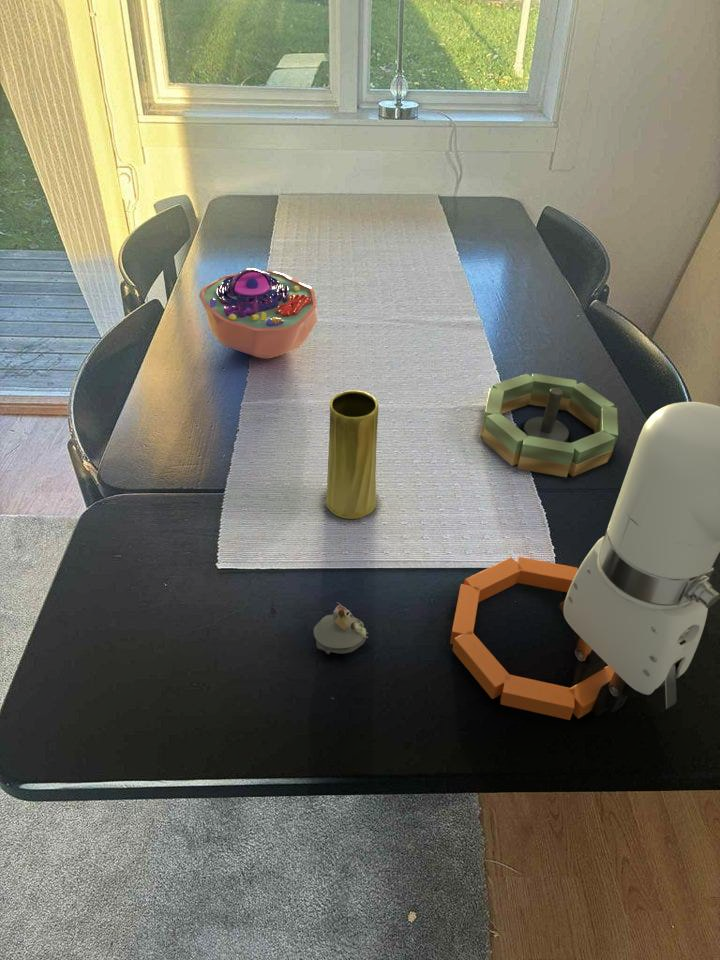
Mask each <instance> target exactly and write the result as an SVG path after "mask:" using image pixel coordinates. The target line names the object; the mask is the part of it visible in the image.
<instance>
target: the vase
mask: <svg viewBox="0 0 720 960" xmlns="http://www.w3.org/2000/svg"><path fill="white" fill-rule="evenodd" d="M378 421H379V402H378V400H377V399H376V398H375V397H374V396H373V395H372V394H370V393H368V392H366V391H363V390H362V391H360V390H345V391H342V392H340V393H338V394H335V395H334V396H333V397H332V398H331V399H330V401H329V435H328V436H329V438H328V454H327V455H328V457H327V478H326V479H327V480H326V495H325V505H326V507H327V509H328V510H329V511H330V512H331V513H332V514H333V515H334V516H337V517H338V518H341V519H347V520H356V519H361V518H364V517H366V516H368V515H370V514H371V513H372V512H374V510H375V508H377V507H376V506H377V496H376V494H377V492H376V491H377V480H376V477H377V475H376V474H377V473H376V471H377V443H378Z"/></svg>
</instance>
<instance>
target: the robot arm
mask: <svg viewBox="0 0 720 960" xmlns="http://www.w3.org/2000/svg"><path fill="white" fill-rule="evenodd" d="M617 496H618V497H617V499H616V503H615V505H614V508H613V511H612V514H611V515H610V516H611V517H610V519H609V523H608V525H607V527H606V531H605V533H604V536H602V537H601V538H599V539H598V540H597V541H596V542H595V544H594V545H593V546H592V548H591V549H590V550H589V552H588V553H587V555H586V556H585V557H584V559H583V560H582V562H581V563H580V566H579V567H578V571H577V573H576V575H575V577H574V579H573V581H572V583H571V586H570V588H569V591H568V593H567V592H566V593H567V594H566V596H565V599H564V600H563V601H561V602H560V603H559V604H558V607H559V609H560V611H561V613H562V614H563V617H564V619H565V621H566V622H567V624H568V625H569V627H570V630H571V633H572V635H573V639H574V641H575V643H576V646H575V649H574V655H575V658H576V659H577V662H576V664H575V667H574V669H573V673H574V674H575V675H574V676H573V679H572V682H571V685H570V688H572V687H573V686H575V685H577V684H578V683H580V682H582V681H584V680H586V679H587V678H589V677H591V676H592V675H594V674H596V673H597V672H599V671H601V670H602V669H604V668H605V667H607V666H608V665H609V666H610V667H611V668H612V669H613V670H614V671H615V672H614V674H613V677H612V679H611V681H609V682H608V683H606V684H605V685H603V686H602V687H601V689H600V691H599V693H598V696H597V698H596V702H595V704H594V706H593V710H592V713H593V714H594V715H595V716H596V717H598V716H600V715H602V714H603V713H605V712H607V711H608V710H609V711H610V713H615V712H617V711H619V710H620V709H621V708H622V707H623V706H624V705H625V703H626V702H627V699H628V697H631V698H636V699H642V698H644V699H645V700H646V702H648V703H649V704H651V705H653V706H655V707H656V708H658V709H659V710H661V711H662V712H663V711H667V710H668V709H670V708H671V707H673V706H675V705H676V704H677V703H678V700H677V697H678V695H677V679H679V678H680V677H681V676H682V675H683V674H685V672H686V671H687V670H688V668H689V666H690V665H691V663H692V661H693V658H694V655H695V653H696V651H697V648H698V646H699V643H700V642H701V641H700V640H701V638H702V635H703V632H704V628H705V625H706V621H707V616H708V611H709V608H711V607H712V606H713V605H715V604H716V603H717V602H718V600H719V599H720V592H718V591H717V590H715V589H714V586H713V584H711V576H712V575H713V572H714V571H715V568H714V567H713V566H714V564H715V562H716V560H717V558H718V556H719V554H720V405H716V404H711V403H707V402H702V401H701V402H700V401H681V402H673V403H670V404H667V405H665V406H663V407H661V408H659V409H657V410H656V411H654V412H653V413H652V414H651V415H650V416H649V417H648V418H647V420H646V421H645V422H644V425H643V426H642V429H641V431H640V434H639V436H638V438H637V441H636V445H635V447H634V450H633V453H632V456H631V459H630V462H629V464H628V468H627V471H626V473H625V476H624V479H623V482H622V484H621V488H620V491H619V494H618V495H617Z"/></svg>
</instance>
